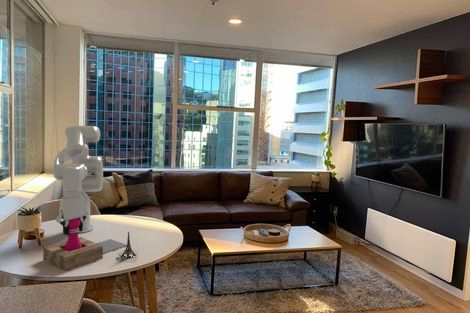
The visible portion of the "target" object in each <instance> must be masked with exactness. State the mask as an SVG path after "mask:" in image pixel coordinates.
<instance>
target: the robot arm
mask: <svg viewBox="0 0 470 313" xmlns="http://www.w3.org/2000/svg"><path fill="white" fill-rule="evenodd" d="M65 136H66V139H67V140H66V147H65V148H63V149H62V150H60V152H59V153H58V154H57V155H56V156H55V158H54V161H53V162H54V163H53V168H52V175H53V178H54V179H55V180H58V181H62V196H61V198H60V203H59V211H58V212H59V214H58V216H57V217H56V218H55V221H56V222H57V223H58V224H60V225H61V226H62V233H63V235H65V236H68V235H69V227H68V226H67V225H68V222H69V220H71V219H76V218H78V219H79V220H80V225H79V231H78V234H80V233H89V232H90V231H92V230H93V229H94V226H93V225H91V198H90V197H89V195H88V194H87V193H89V192H90V193H92V192H93V193H95V192H100V191H102V190H103V189H104V188H103V187H104V165H103V164H104V163H103V159H102V157H100V156H98V155H97V156H96V155H94V156H93V155H89V146H88V145H87V144H86V143H98V142H99V141H100V139H101V130H100V128H99V127H98V126H94V125H71V126H68V127H66V128H65ZM67 161H71V163H67ZM65 162H66V163H65Z"/></svg>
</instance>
